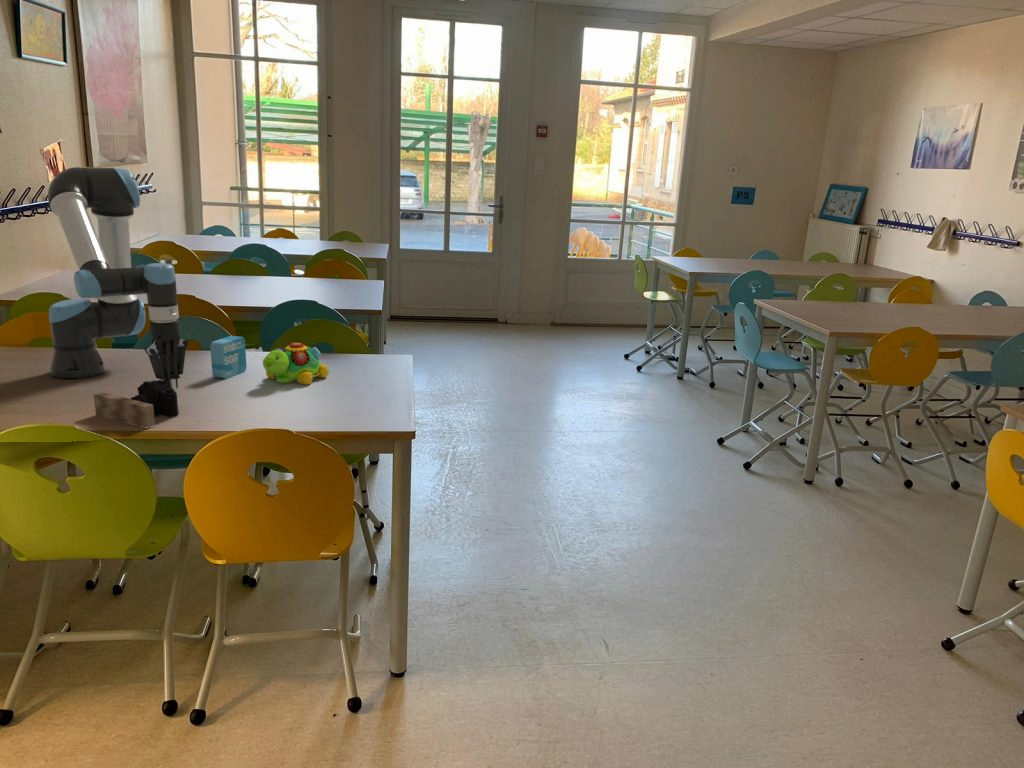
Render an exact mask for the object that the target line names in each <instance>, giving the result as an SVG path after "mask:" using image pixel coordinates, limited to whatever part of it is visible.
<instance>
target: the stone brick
mask: <svg viewBox="0 0 1024 768" xmlns="http://www.w3.org/2000/svg"><path fill="white" fill-rule="evenodd" d="M93 401H94V408H95V415H96V416H98V417H101V416H102V418H106V419H109V418H110V419H111V420H113V419H114V420H113V421H117V420H118V422H120V421H122V423H124V422H126V423H125V424H128V423H130V424H129V425H132V424H134V425H133V426H135V425H138V426H137V427H139V426H143V427H150V426H153V425H155V426H156V421H155V415H154V409H153V405H152V404H148V403H144V402H140V401H136V400H132V399H131V398H128V397H123V396H120V395H115V394H111V393H107V392H103V391H100V392H97V393H93ZM143 427H142V428H143Z"/></svg>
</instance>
